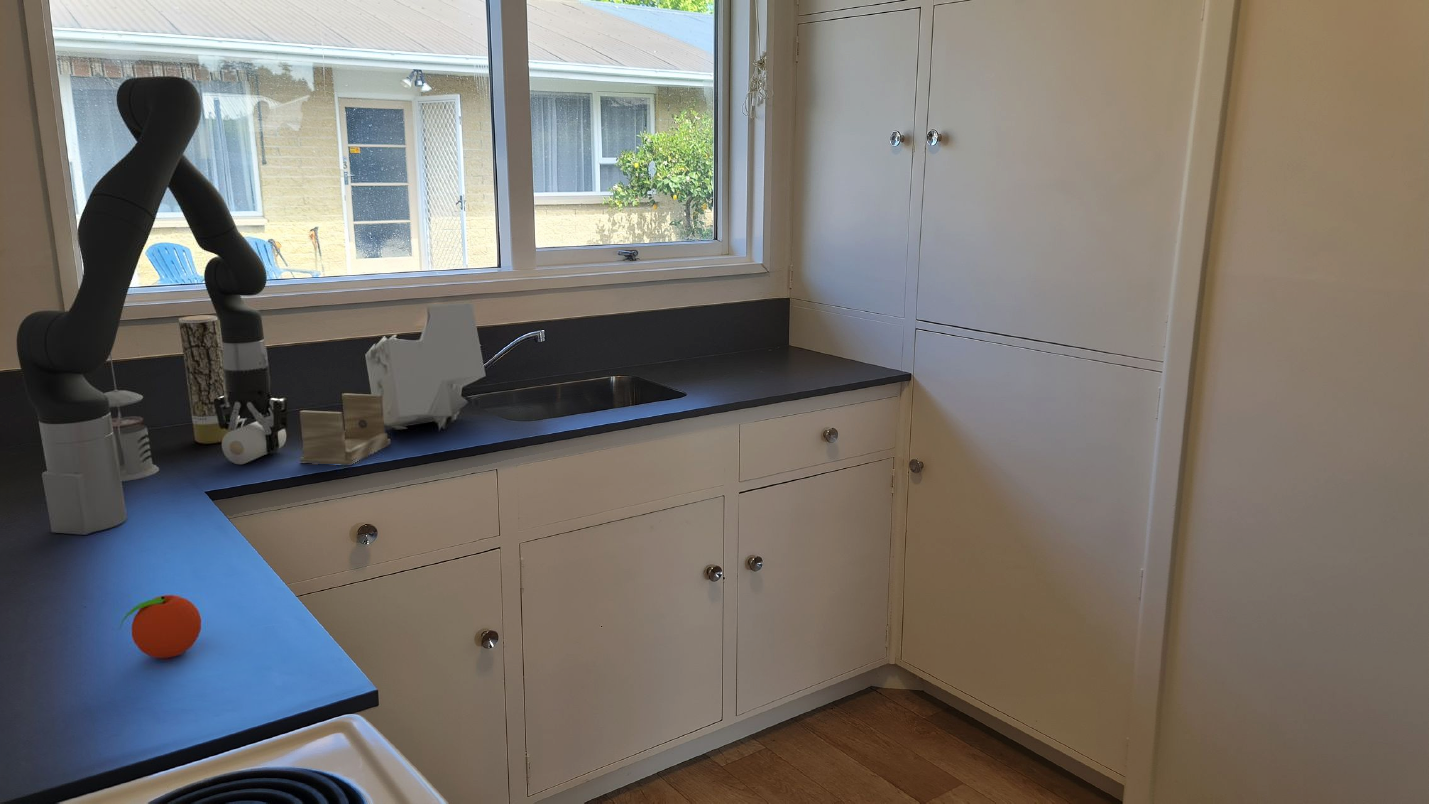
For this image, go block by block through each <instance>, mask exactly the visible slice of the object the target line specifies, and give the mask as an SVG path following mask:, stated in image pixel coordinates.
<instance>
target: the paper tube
mask: <svg viewBox="0 0 1429 804" xmlns="http://www.w3.org/2000/svg"><path fill="white" fill-rule="evenodd" d="M178 324H179V326H178V327H179V331H180V333H179V334H180V338H181V339H180V340H181V347H182V352H183V353H182V354H183V361H184V367H185V375H186V383H187V391H188V397H189V405H190V413H191V421H192V426H193V434H194V440H195V441H196V442H197V443H199V444H207V445H208V444H217V443H218V444H219V443H222V440H223V437H224V436H225V435H226V434H227V433H228V432H229V431H228V430H227V429H221V428H220V427H219V423H218V418H217V414H216V409H215V405H214V399H215V398H217V397H220V396H223V395H226V396H228V391H227V389H226V382H225V374H224V366H223V358H222V341H221V333H220V329H219V328H220V325H219V318H218V315H213V314H211V315H210V314H207V315H206V314H205V315H191V316H190V315H189V316H182V317H180V318H178ZM224 417H225V416H224Z"/></svg>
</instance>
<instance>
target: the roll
mask: <svg viewBox="0 0 1429 804" xmlns="http://www.w3.org/2000/svg"><path fill="white" fill-rule="evenodd" d="M266 434H267V433H266V432H265V430H264V429H263V427H262V425H260V424H258V422H257V420H256V421H254V422H251V423H249V424H247V425H243V426H242V427H241V428H238V429H236V430H233V431H230V432H228V433H227V434H226V435H225V436H224V437H223V440H222V442H221V449H222V452H223V455H224V456H225V457H226V458H227V459H228V461H230V462H232V463H233V464H236V465H244V464H246V463H249V462H252V461H254V460H256V459H258V458H259V459H260V458H261V457H262V456H264V455H268V454H269V453H267V447H266V439H265V435H266ZM278 440H279V448H278V449H277V450H279V449H281V448H282V447H283V446H284V445H285V443H286V440H287V432H286V428H285V429H283V430H280V431H278Z"/></svg>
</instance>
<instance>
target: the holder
mask: <svg viewBox="0 0 1429 804" xmlns="http://www.w3.org/2000/svg"><path fill="white" fill-rule="evenodd" d="M341 399H342V408H343V409H342V411H328V410H327V411H322V410H307V409H306V410H301V411H299V418H300V419H299V420H300V427H301V438H302V446H303V448H302V449H301V450H302V451H301V452H302V457H300V458H299V461H300V462H305V463H317V464H316V465H318V464H341V465H350V464H353V463H354V464H356V463H358V462H360V461H362V460H364V459H365V458H364V457H366V458H368V457H369V456H371V455H373V454H375V453H377V452H378V450H379V451H380V450H382V449H385V447H388V446H389V445H391V444H392V443H391V439H390V438H388V433H387V432H386V428H385V425H384V416H383V404H382V395H372V394H370V393H369V394H368V393H365V394H363V393H347V392H346V393H342V394H341ZM374 452H375V453H374ZM370 454H371V455H370ZM368 455H369V456H368ZM363 458H364V459H363ZM361 459H362V460H361ZM359 460H360V461H359ZM357 461H358V462H357ZM355 462H356V463H355ZM354 464H353V465H354Z"/></svg>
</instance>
